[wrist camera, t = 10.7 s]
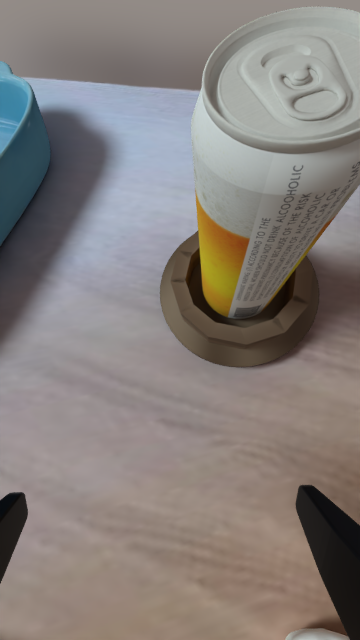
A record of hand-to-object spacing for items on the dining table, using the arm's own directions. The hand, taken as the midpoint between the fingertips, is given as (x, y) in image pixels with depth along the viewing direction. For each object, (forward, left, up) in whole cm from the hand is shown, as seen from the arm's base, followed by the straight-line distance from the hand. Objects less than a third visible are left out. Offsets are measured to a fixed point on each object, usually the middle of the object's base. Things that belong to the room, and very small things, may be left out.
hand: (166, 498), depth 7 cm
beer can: (-1, -12, -11) cm, 17 cm away
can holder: (-1, -13, -12) cm, 17 cm away
